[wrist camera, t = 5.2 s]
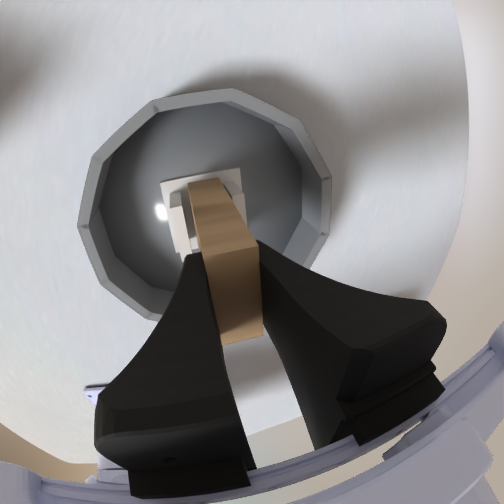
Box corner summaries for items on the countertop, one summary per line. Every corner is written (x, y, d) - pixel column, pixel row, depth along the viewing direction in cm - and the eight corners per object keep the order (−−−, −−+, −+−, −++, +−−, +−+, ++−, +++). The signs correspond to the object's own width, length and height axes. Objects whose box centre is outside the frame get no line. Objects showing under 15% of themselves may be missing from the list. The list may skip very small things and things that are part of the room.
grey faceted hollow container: (305, 272, 21) (323, 297, 18) (132, 312, 18) (130, 343, 16) (303, 87, 14) (330, 86, 11) (72, 125, 11) (51, 131, 9)
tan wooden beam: (226, 244, 16) (263, 335, 10) (198, 249, 16) (222, 345, 10) (218, 177, 14) (258, 245, 8) (187, 182, 13) (203, 257, 8)
